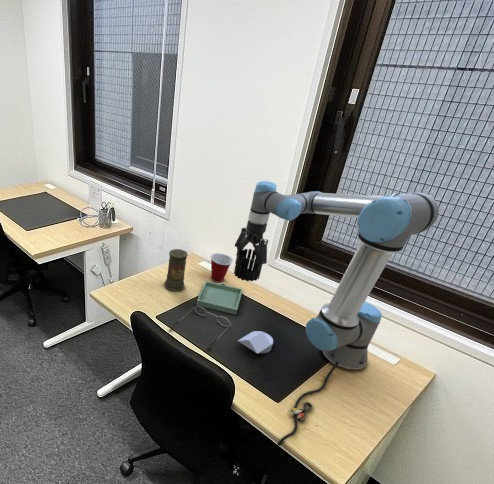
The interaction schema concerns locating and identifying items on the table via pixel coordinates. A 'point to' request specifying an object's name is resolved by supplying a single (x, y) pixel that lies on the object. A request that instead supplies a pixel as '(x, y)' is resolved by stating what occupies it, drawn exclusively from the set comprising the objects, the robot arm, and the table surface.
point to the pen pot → (245, 265)
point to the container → (176, 270)
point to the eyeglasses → (204, 315)
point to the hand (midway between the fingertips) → (246, 269)
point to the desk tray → (219, 297)
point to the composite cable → (301, 411)
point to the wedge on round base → (257, 342)
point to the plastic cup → (220, 266)
